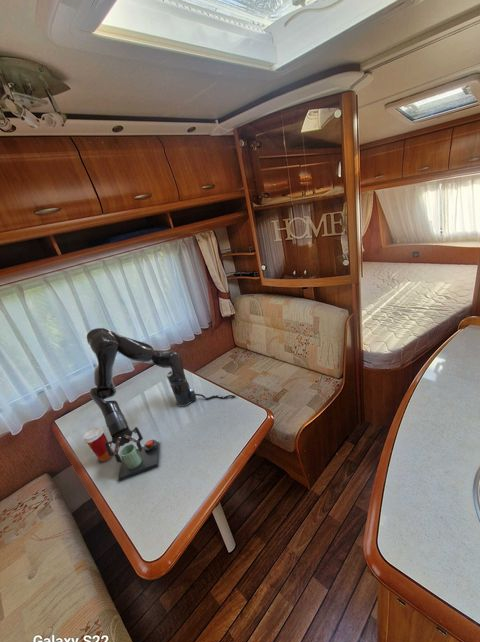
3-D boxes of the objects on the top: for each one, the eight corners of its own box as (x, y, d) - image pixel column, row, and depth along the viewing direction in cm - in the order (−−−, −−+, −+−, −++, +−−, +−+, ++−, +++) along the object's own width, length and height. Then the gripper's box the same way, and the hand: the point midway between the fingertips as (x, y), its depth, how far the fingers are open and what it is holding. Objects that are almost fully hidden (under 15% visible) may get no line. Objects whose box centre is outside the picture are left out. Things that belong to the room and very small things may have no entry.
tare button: (153, 441, 128) (152, 439, 127) (153, 446, 125) (152, 443, 125) (147, 444, 127) (146, 441, 127) (146, 448, 125) (145, 445, 124)
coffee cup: (102, 451, 133) (88, 428, 127) (118, 447, 133) (105, 424, 127) (93, 465, 126) (78, 442, 120) (111, 461, 126) (97, 438, 120)
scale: (159, 443, 131) (156, 437, 129) (157, 466, 118) (155, 460, 117) (125, 455, 128) (122, 450, 126) (119, 481, 115) (116, 475, 113)
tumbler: (142, 455, 124) (135, 442, 120) (140, 465, 118) (134, 452, 115) (128, 460, 122) (121, 447, 119) (126, 471, 117) (118, 458, 113)
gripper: (134, 416, 128) (148, 448, 124) (101, 433, 122) (115, 467, 117) (131, 413, 122) (146, 446, 117) (97, 430, 115) (111, 466, 111)
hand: (130, 456), depth 117 cm, fingers open, 8 cm apart
